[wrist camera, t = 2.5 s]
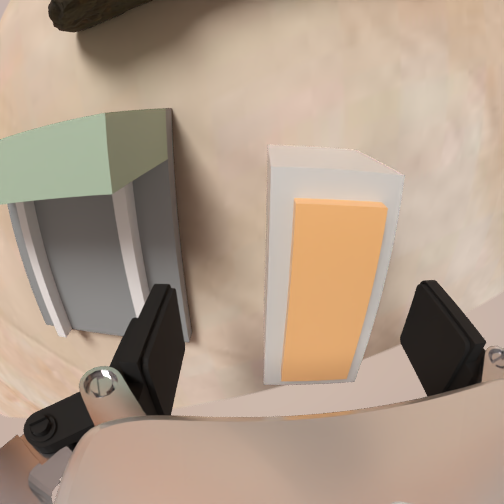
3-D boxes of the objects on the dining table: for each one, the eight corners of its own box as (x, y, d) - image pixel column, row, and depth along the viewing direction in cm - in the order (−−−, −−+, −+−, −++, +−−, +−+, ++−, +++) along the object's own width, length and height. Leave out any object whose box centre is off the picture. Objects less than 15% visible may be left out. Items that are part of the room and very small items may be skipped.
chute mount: (171, 108, 14) (105, 113, 7) (192, 332, 20) (169, 418, 14) (7, 140, 14) (-71, 168, 8) (52, 316, 20) (8, 377, 14)
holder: (355, 149, 14) (412, 179, 9) (334, 309, 19) (356, 390, 13) (267, 144, 15) (271, 170, 9) (263, 310, 19) (263, 394, 13)
